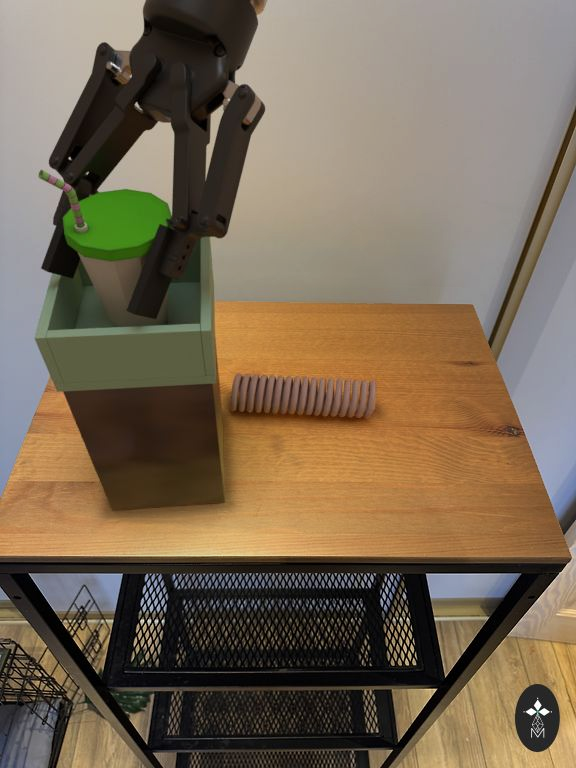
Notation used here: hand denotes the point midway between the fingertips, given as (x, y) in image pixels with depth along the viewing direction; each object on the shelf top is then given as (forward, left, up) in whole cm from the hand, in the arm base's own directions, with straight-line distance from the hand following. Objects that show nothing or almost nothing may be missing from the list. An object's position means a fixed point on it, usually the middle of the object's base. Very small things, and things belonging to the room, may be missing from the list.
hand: (98, 293), depth 43 cm
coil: (-18, -9, -27) cm, 34 cm away
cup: (-2, -3, -6) cm, 7 cm away
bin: (-2, -3, -7) cm, 8 cm away
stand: (-2, -3, -27) cm, 27 cm away
